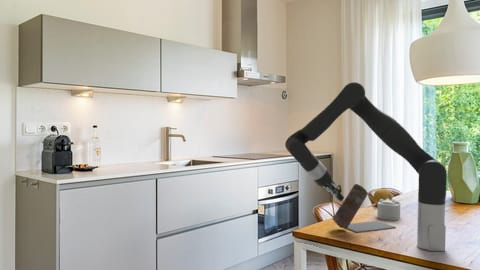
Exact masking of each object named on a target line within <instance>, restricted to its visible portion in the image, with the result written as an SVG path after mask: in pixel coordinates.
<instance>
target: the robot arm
mask: <svg viewBox="0 0 480 270" xmlns="http://www.w3.org/2000/svg"><path fill="white" fill-rule="evenodd" d="M348 109H349V110H351V111H352V112H353V113H354V114H355V115H357V116H358V117H359V118H360V119H361V120H362V121H364V123H365V124H366V125H367V127H369V129H371V131H372V132H373V133H374V134H375V135H376V136H377V138H379V139H380V140H381V141H382V142H383V143H384V144H385V145H386V146H387V147H388V148H389V149H391V150H392V151H393V152H395V153H396V154H397V155H399V156H400V157H402V158H403V159H404V160H405V161H406V162H407V163H408V164H409V165H410V166H411V167H412V168H413V169H414V170H415V172H416V173H417V175H418V188H417V189H418V190H417V192H418V193H417V230H416V231H417V232H416V233H417V237H416V239H417V240H416V241H417V243H416V247H418V248H419V249H422V250H425V251H428V252H446V237H447V236H446V231H447V229H446V224H445V223H446V222H445V221H446V198H447V182H448V181H447V180H448V179H447V178H448V177H447V175H448V174H447V169H446V167H445V166H444V165H443V163H441V162H440V161H438V160H437V159H435V158H434V157H433V156H432V155H430V154H429V153H428V152H426V151H425V150H424V149H423V148H422V147H421V146H420V145H419V144H418V143H417V141H416V140H415V138H414V137H412V135H411V134H410V133H409V132H408V131H407V129H405V127H403V126H402V124H400V123H399V122H398V121H397V120H396V119H395V118H393V117H392V116H391V115H389V114H388V113H386V112H384V111H382V110H380V109H379V108H377V106H375V105H374V104H373V103H372V102H371V101H370V99H368V97H367V96H366V89H365V87H364V86H363V84H361V83H359V82H352V81H351V82H350V83H348V84H346V85H345V86H344V87H343V88H342V90H341V91H340V92H339V93H338V95H337V96H336V97H335V98H334V99H333V100H332V101H331V102H330V103H329V104H328V105H327V106H326V107H325V108H324V109H323V110H321V112H319V114H317V115H316V116H315V117H314V118H312V119H311V120H310V121H309V122H307V124H306V125H305V126H303V127H302V128H301V129H298V130H297V131H295V132H294V133H293V134H291V135H290V136H288V138H287V139H286V141H285V143H284V144H285V145H284V146H285V149H286V150H287V151H288V153H289V154H290V155H291V156H292V157H293V158H294V159H295V160H296V161H297V162H298V163H299V165H300V166H301V167H302V168H303V169H304V171H305V172H306V173H307V174H308V176H309V177H310V178H311V179H312V180H313V182H314V183H316V185H317V186H318V187H320V188H322V189H323V190H325V191H326V192H328V193H329V194H331V195H333V196H334V197H335V198H336V199H337V200H338V201H340V202H343V201H344V200H345V197H344V196H343V194H342V192H343V191H342V186H341V185H340V184H338V185H336V183H335V181H334V180H333V179H332V177H333V176H332V173H331V172H330V171H329V170H328V169H327V168H326V166H325V165H324V164H323V162H321V161H320V160H319V159H318V158H317V157H316V155H315V154H313V153H312V152H311V151H310V149H309V148H308V145H306V144H307V143H308V142H314V141H315V140H317V139H318V138H319V137H321V135H322V134H323V133H325V132H326V131H327V130H328V129H329V128H330V127H331V125H333V123H335V121H336V120H337V119H339V117H340V116H341V115H343V113H344V112H346V111H347V110H348Z"/></svg>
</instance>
